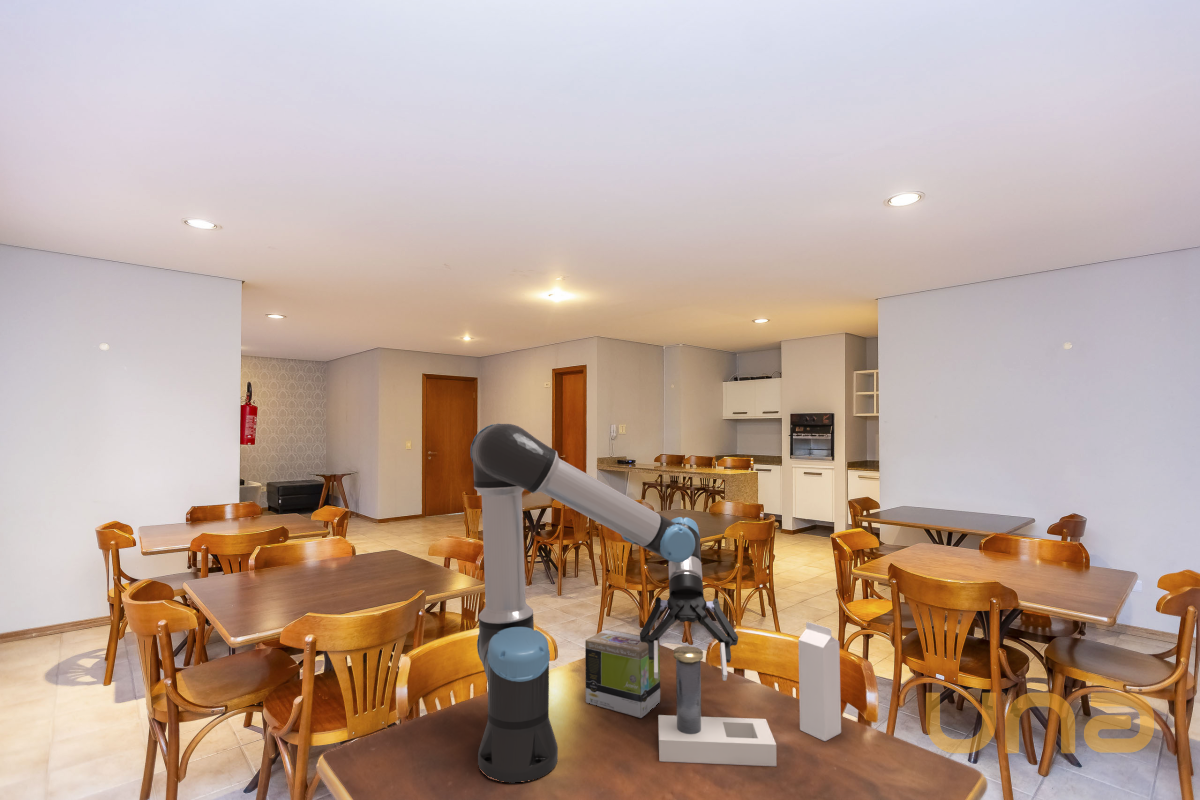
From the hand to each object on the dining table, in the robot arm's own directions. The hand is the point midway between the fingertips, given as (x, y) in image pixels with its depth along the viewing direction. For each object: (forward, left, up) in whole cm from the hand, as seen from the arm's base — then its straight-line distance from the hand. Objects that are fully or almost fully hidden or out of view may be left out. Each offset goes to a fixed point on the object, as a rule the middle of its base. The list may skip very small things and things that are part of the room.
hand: (690, 676), depth 119 cm
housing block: (+5, +1, -14) cm, 15 cm away
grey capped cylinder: (0, +1, -10) cm, 10 cm away
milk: (+28, +10, -15) cm, 33 cm away
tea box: (-14, +20, -15) cm, 28 cm away
